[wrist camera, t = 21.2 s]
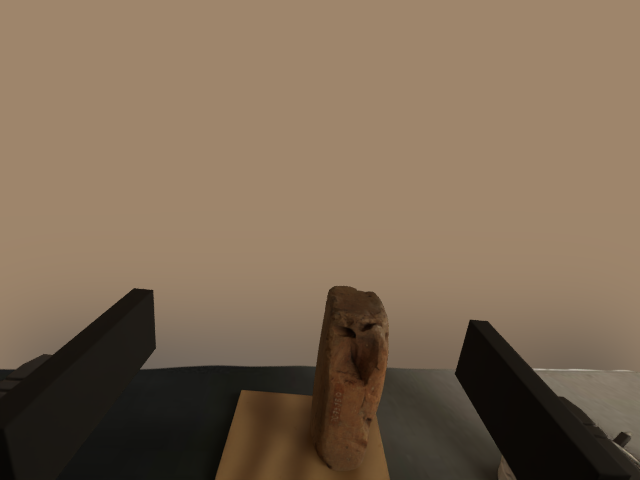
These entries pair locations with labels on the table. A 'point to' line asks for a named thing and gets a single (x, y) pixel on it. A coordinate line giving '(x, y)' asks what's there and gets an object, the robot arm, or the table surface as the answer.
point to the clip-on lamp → (624, 443)
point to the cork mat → (286, 443)
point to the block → (348, 376)
